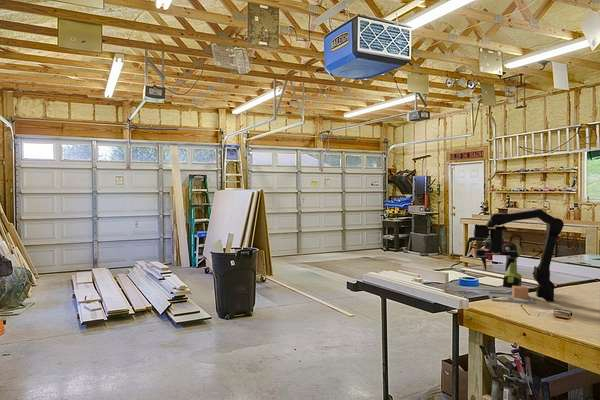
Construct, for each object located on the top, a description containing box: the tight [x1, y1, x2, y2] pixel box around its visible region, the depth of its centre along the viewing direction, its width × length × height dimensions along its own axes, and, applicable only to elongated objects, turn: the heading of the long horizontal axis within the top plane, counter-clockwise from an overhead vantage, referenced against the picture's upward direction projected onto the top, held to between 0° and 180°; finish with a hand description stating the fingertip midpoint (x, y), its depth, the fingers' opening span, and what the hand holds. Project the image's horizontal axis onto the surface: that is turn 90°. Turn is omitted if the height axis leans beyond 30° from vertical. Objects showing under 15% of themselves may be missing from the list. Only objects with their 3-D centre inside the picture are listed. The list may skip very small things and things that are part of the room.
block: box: [511, 285, 529, 299], centre depth 207 cm, size 6×5×4 cm
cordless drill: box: [502, 241, 523, 289], centre depth 226 cm, size 23×7×25 cm, turn 143°
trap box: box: [485, 290, 536, 305], centre depth 205 cm, size 18×16×2 cm
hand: (495, 270), depth 213 cm, fingers open, 9 cm apart
